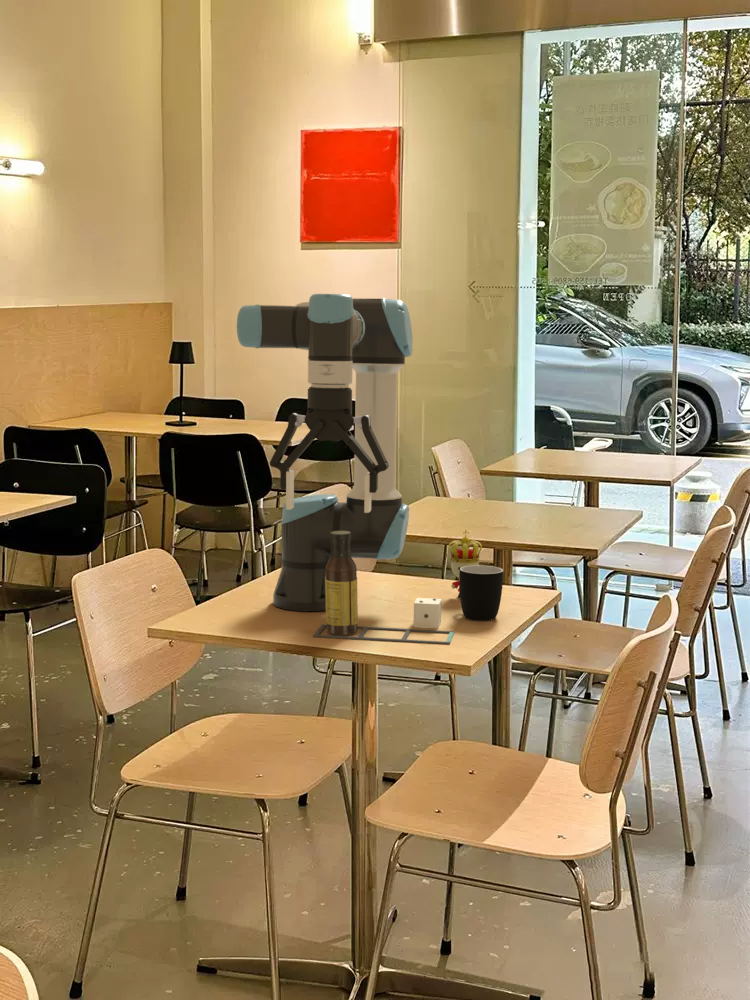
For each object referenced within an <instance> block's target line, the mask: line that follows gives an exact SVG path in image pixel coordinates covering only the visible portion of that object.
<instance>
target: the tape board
mask: <svg viewBox="0 0 750 1000" xmlns="http://www.w3.org/2000/svg"><path fill="white" fill-rule="evenodd" d="M325 628H327V623H326V624H325V623H323V624H321V625H320V626H319V628H318V629H317V630H316V631H315V632H314V633H313V635H312V638H322V639H323V638H325V639H326V638H327V639H345V640H360V641H361V640H362V641H363V640H364V641H379V642H380V641H381V642H383V641H384V642H398V643H417V644H432V645H433V644H436V645H451V642H452V639H453V636H454V634H455V631H453V630H439V629H437V630H436V629H421V628H419V629H418V628H402V627H401V628H400V627H398V628H397V627H382V626H366V625H365V626H360V625H357V630H359V629H360V630H361V631H360V632H359V634H357V636H351V635H345V636H338V635H332V634H329V635H328V634H321V633H322V632H323V631H324V630H325ZM368 630H377V631H378V630H379V631H380V630H381V631H396V632H397V631H399V632H404V634H403V636H402V637H401V638H388V637H387V638H386V637H367V636H365V637H364V635H365V634H366V632H367V631H368ZM412 632H417V633H418V632H419V633H431V634H432V633H436V634H448V636H447V638H446V640H445V641H439V640H423V639H421V640H420V639H408V637H409V635H410V633H412Z"/></svg>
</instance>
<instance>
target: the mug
mask: <svg viewBox="0 0 750 1000" xmlns="http://www.w3.org/2000/svg"><path fill="white" fill-rule="evenodd" d="M458 579H459V580H458V581H459V586H458V589H459V590H460V597H459V598H460V605H461V611H462V614H463V616H464V618H465V619H467V620H470V621H475V622H488V621H489V622H490V621H493V620H495V619H496V617H497V616H498V613H499V611H500V605H501V600H502V592H503V585H504V584H503V583H504V570H503V568H501V567H498V566H492V565H480V564H479V565H472V566H464V567H461V568H460V572H459V578H458Z"/></svg>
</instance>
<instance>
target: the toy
mask: <svg viewBox="0 0 750 1000" xmlns="http://www.w3.org/2000/svg"><path fill="white" fill-rule="evenodd" d="M462 533H463V534H465V536H464V537H462V538H461V540H459V539H456V540H455V539H454V540H453V541H451V542H450V543H449V544H448V548H449V551H450V554H451V556H450V558H451V559H450V561H451V562H450V563H451V564H450V568H451V572H452V573H453V575H454V576H455V577H457V578H458V579H459V572H460V568H461V567H464V566H472V565H480V553H481V551H482V550H483V549H482V548H483V546H482V544H481V542H479V541H477V540H475V539H472V540H470V538H469V537H467V534H470V533H469V531H468V532H467V529H465V530H464V531H463V532H462ZM463 534H462V535H463ZM459 545H461V547H462V548H459V549H458V546H459ZM471 545H472V546H473V547H472V548H469V546H471ZM451 546H452V547H451ZM479 546H480V547H479ZM450 588H452V589H456V590H457V592H459V593H458V595H457V598H460V590H459V580H457V581H453V582H452V583H451V587H450Z"/></svg>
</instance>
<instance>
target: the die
mask: <svg viewBox="0 0 750 1000" xmlns="http://www.w3.org/2000/svg"><path fill="white" fill-rule="evenodd" d="M441 625H442V598H431V597H429V598H428V597H426V598H425V597H416V599H415V601H414V602H413V627H412V628H416V629H418V628H419V629H421V628H423V629H435V630H436V629H437V630H439V629H440V626H441Z"/></svg>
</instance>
